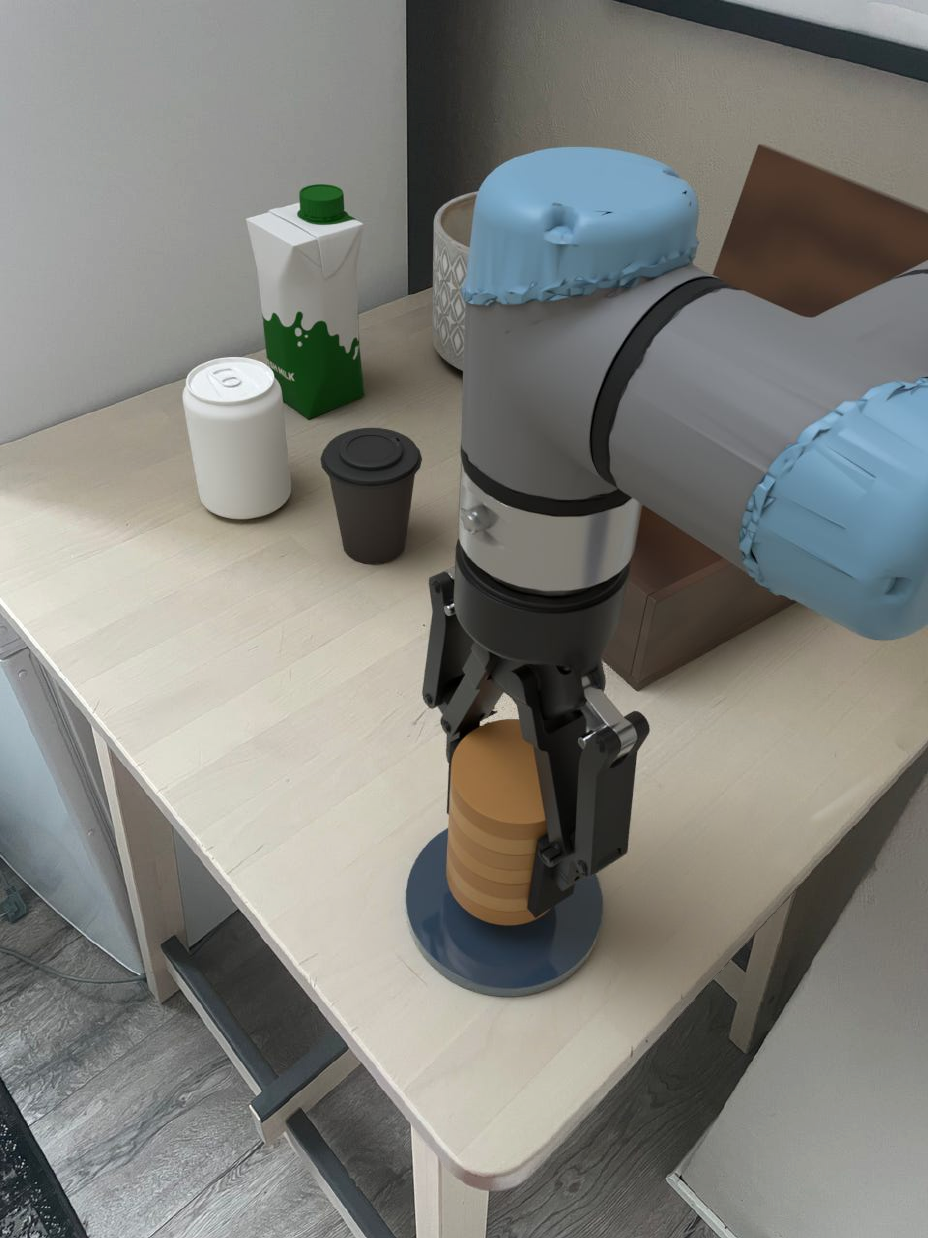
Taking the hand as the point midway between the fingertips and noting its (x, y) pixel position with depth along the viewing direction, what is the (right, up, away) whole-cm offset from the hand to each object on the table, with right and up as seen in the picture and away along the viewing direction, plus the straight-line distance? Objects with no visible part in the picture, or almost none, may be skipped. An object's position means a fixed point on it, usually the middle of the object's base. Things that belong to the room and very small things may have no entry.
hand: (507, 851), depth 59 cm
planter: (+3, +43, +54) cm, 69 cm away
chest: (+13, +17, +27) cm, 35 cm away
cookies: (0, -2, +1) cm, 2 cm away
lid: (+23, +36, +19) cm, 47 cm away
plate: (0, -4, +4) cm, 5 cm away
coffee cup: (-10, +20, +29) cm, 36 cm away
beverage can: (-22, +24, +33) cm, 47 cm away
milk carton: (-18, +36, +46) cm, 62 cm away
